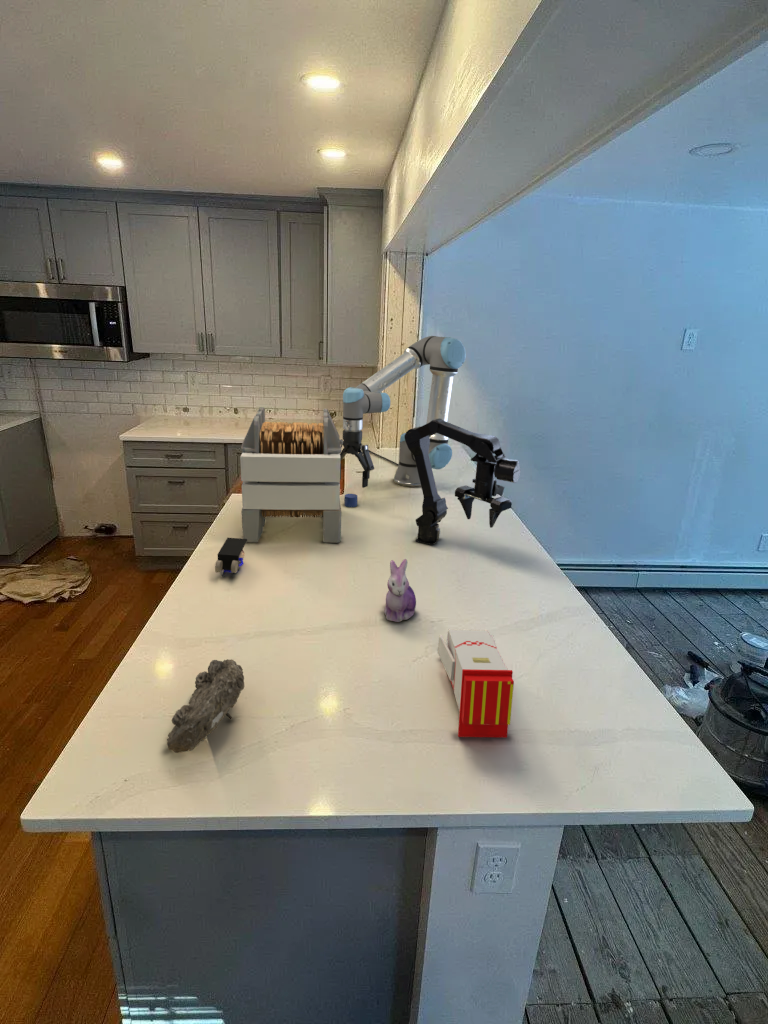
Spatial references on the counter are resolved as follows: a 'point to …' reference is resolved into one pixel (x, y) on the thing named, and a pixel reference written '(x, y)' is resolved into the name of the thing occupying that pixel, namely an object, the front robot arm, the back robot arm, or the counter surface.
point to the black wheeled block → (230, 556)
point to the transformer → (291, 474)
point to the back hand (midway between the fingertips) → (351, 483)
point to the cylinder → (350, 500)
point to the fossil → (206, 705)
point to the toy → (478, 682)
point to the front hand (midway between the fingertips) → (479, 523)
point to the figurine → (399, 594)
